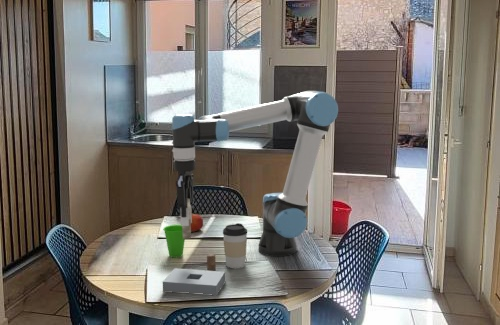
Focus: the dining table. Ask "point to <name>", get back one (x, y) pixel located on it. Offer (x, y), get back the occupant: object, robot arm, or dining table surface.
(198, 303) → the dining table surface
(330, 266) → the dining table surface
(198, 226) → the tomato
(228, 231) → the coffee cup
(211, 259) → the short pin
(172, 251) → the cup
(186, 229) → the long pin
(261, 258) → the dining table surface
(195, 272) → the grey block with hole
